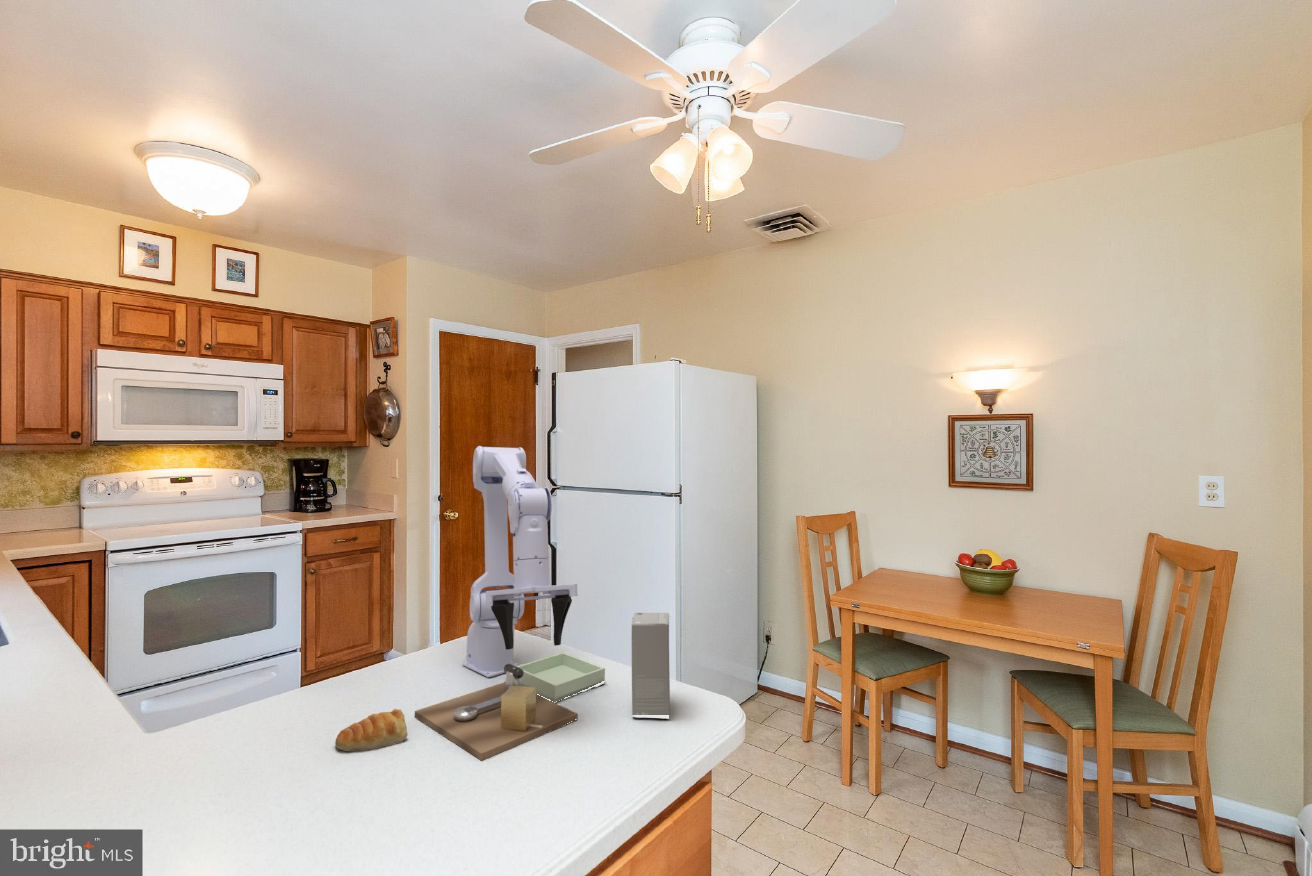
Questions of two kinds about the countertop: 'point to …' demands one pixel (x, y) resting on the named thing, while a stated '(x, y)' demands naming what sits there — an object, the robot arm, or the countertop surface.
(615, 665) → the countertop surface
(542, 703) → the crank plate
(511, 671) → the crank
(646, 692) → the skincare box
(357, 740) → the pastry
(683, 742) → the countertop surface
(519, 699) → the block
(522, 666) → the tray
